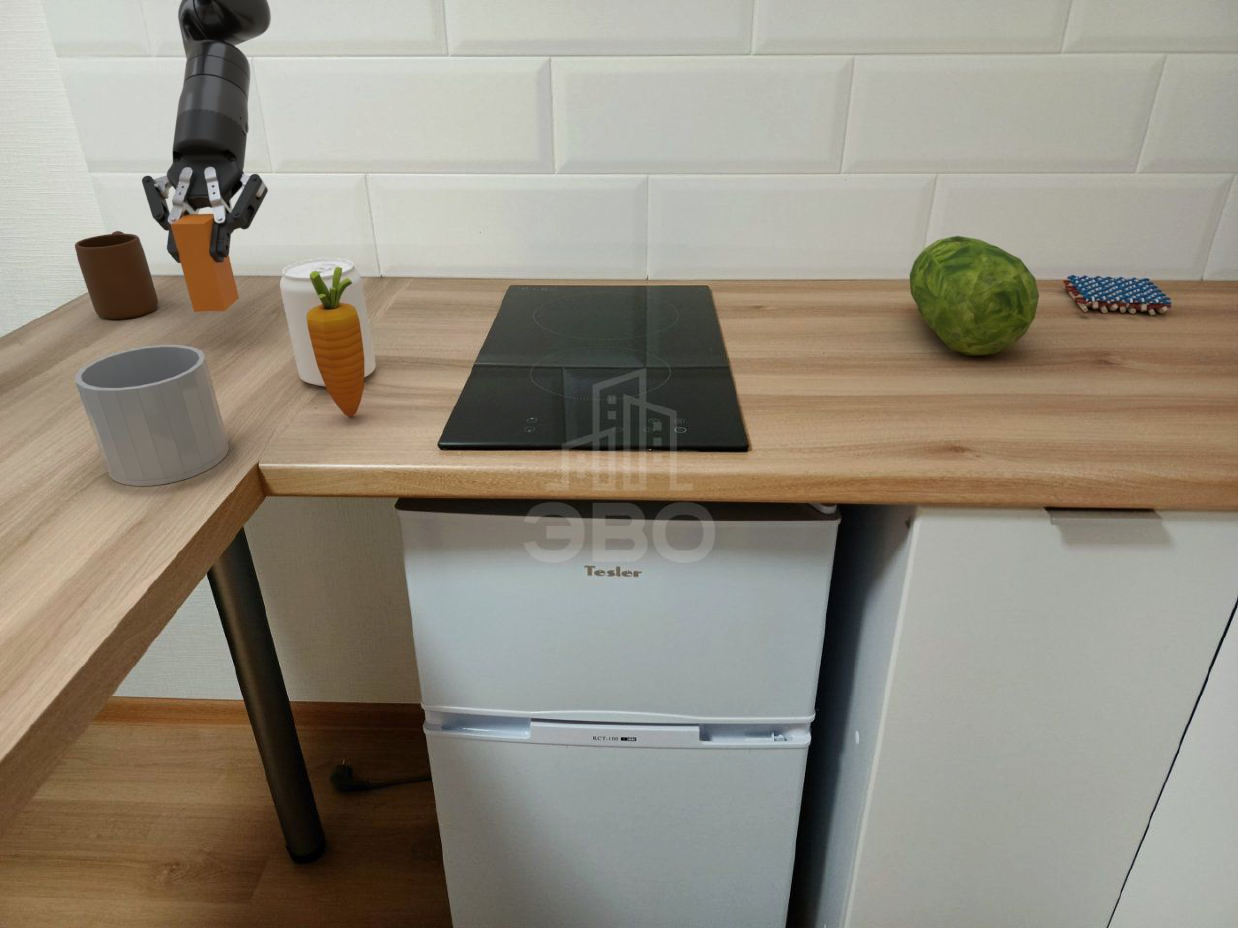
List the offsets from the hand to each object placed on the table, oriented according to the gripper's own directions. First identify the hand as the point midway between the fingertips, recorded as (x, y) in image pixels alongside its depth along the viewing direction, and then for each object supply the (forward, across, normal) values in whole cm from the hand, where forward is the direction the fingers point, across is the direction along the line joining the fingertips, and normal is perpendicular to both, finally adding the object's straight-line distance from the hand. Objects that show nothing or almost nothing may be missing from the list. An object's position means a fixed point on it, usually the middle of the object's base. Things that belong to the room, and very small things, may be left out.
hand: (197, 258), depth 96 cm
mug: (-4, -18, +20) cm, 27 cm away
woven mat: (+1, +111, +14) cm, 112 cm away
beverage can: (+14, +16, +2) cm, 21 cm away
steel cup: (+27, +5, -11) cm, 30 cm away
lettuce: (+8, +87, +7) cm, 88 cm away
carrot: (+21, +20, -6) cm, 30 cm away
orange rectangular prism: (+3, 0, +6) cm, 6 cm away
